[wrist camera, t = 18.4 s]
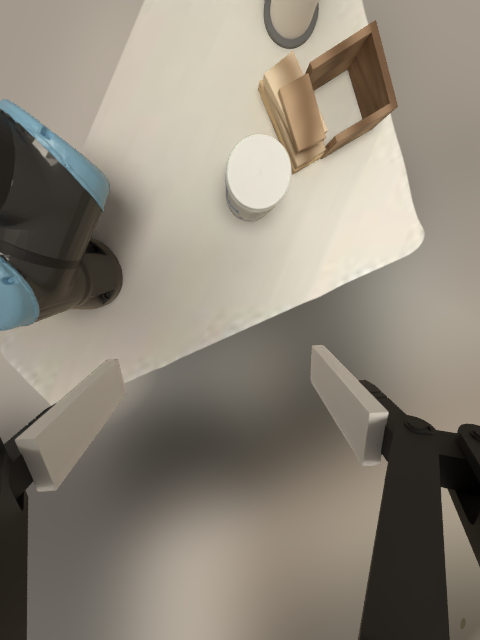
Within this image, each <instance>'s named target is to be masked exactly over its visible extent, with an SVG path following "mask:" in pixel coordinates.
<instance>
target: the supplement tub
mask: <svg viewBox="0 0 480 640" xmlns="http://www.w3.org/2000/svg"><path fill="white" fill-rule="evenodd" d="M291 173H292V170H291V162H290V158H289V155H288V153H287V151H286V149H285V148H284V146H283V145H282V144H281V143H280V142H279V141H278V140H276V139H275V138H273V137H271V136H269V135H265V134H254V135H250V136H248V137H246V138H244V139H242V140H241V141H240V142H239V143H238V144H237V145H236V146H235V147H234V149H233V150H232V152H231V154H230V156H229V159H228V163H227V166H226V173H225V182H226V198H227V203H228V206H229V208H230V209H231V211H232V212H233V213H234V214H235V215H236V216H237V217H238V218H240V219H242V220H245V221H255V220H258V219H260V218H262V217H263V216H265V215H266V214H267V213H268V212H269V211H270V210H271V209H272V208H274V207H275V206H276V205H277V204H278V203H279V202H280V201H281V200H282V198H283V197H284V195H285V193H286V191H287V189H288V187H289V184H290V181H291Z"/></svg>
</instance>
